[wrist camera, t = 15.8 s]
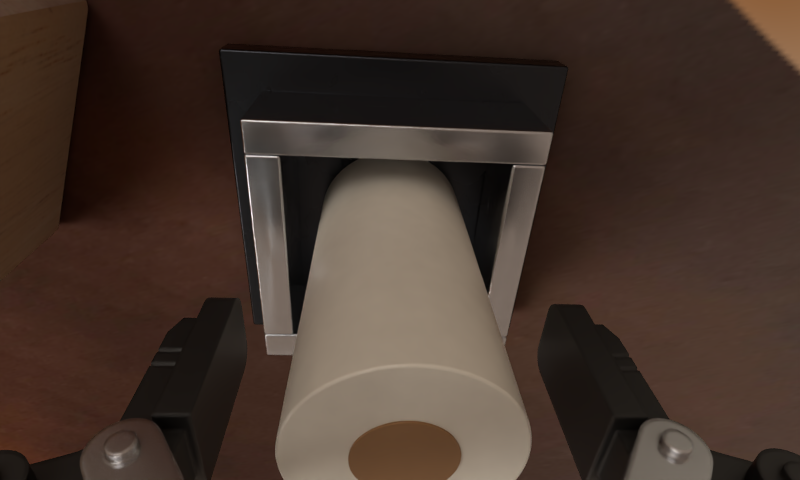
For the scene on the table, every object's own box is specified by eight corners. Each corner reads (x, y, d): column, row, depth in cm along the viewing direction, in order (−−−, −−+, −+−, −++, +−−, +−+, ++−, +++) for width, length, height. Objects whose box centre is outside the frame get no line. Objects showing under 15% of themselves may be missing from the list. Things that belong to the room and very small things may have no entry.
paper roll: (320, 148, 17) (262, 366, 8) (465, 154, 17) (559, 368, 8) (324, 269, 19) (283, 532, 11) (449, 271, 19) (509, 529, 11)
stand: (226, 43, 16) (185, 70, 12) (559, 60, 16) (608, 90, 13) (258, 309, 21) (236, 379, 18) (504, 313, 22) (528, 381, 19)
